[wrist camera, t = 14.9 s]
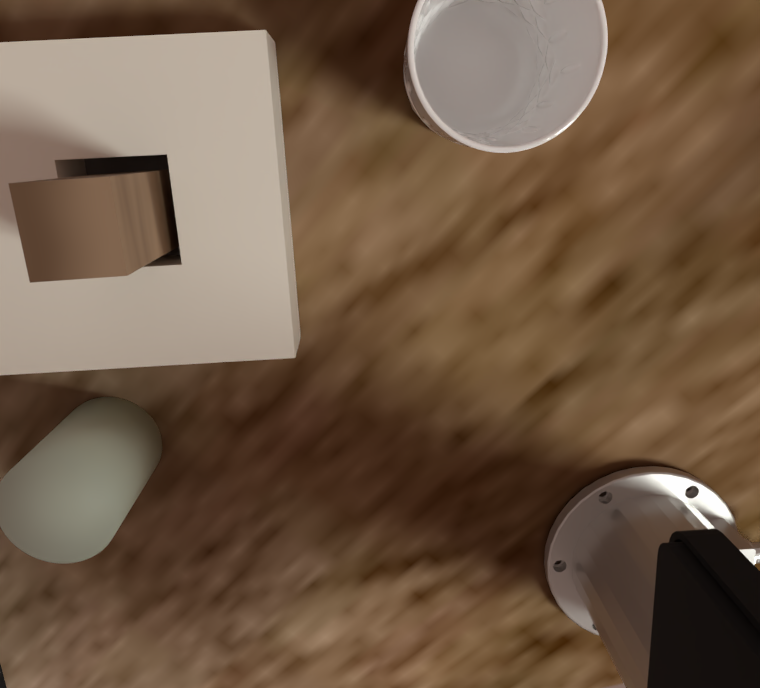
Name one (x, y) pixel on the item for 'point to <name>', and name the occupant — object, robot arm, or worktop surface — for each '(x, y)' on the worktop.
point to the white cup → (503, 68)
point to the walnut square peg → (94, 224)
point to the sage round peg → (80, 481)
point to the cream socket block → (189, 190)
